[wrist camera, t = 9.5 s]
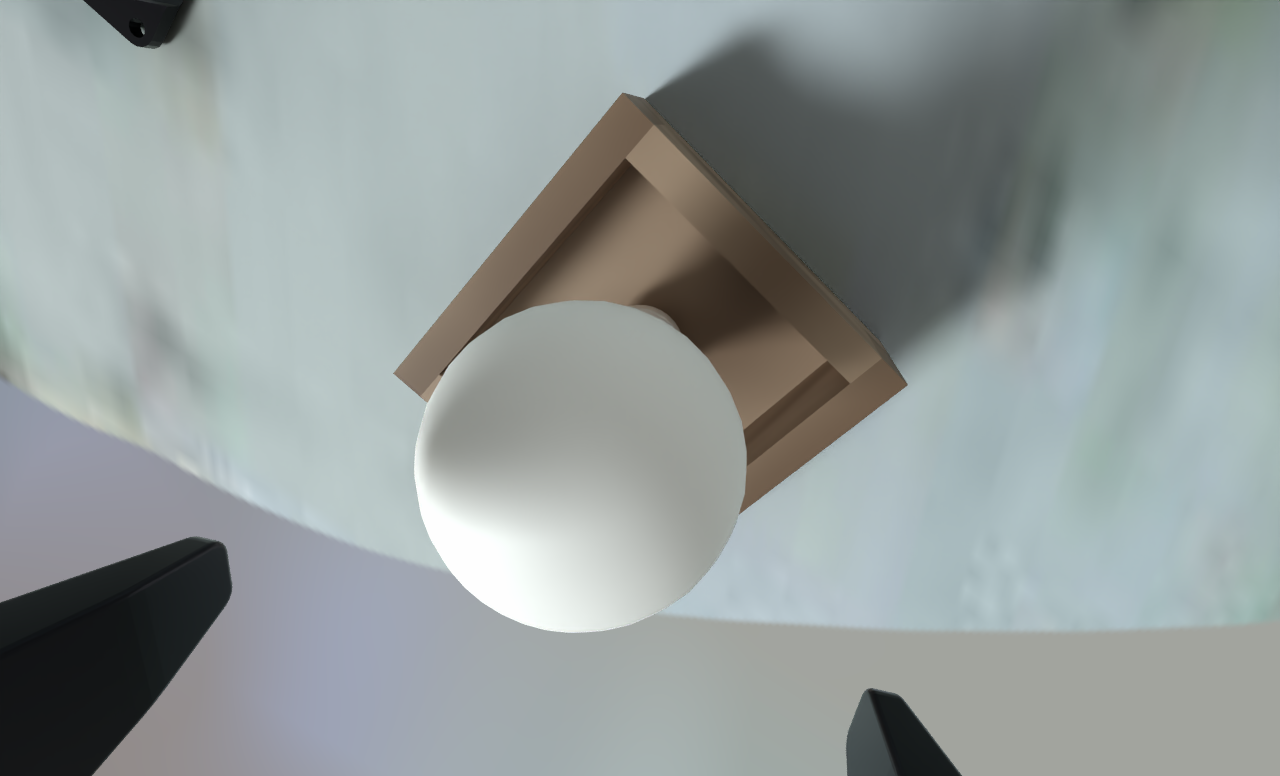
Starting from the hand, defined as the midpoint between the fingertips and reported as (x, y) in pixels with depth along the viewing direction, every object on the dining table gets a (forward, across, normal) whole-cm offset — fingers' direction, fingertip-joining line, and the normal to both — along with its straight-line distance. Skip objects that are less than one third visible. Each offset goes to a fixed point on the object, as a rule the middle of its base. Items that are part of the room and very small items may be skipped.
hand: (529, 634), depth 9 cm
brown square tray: (+13, 0, 0) cm, 13 cm away
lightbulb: (+12, 0, 0) cm, 12 cm away
